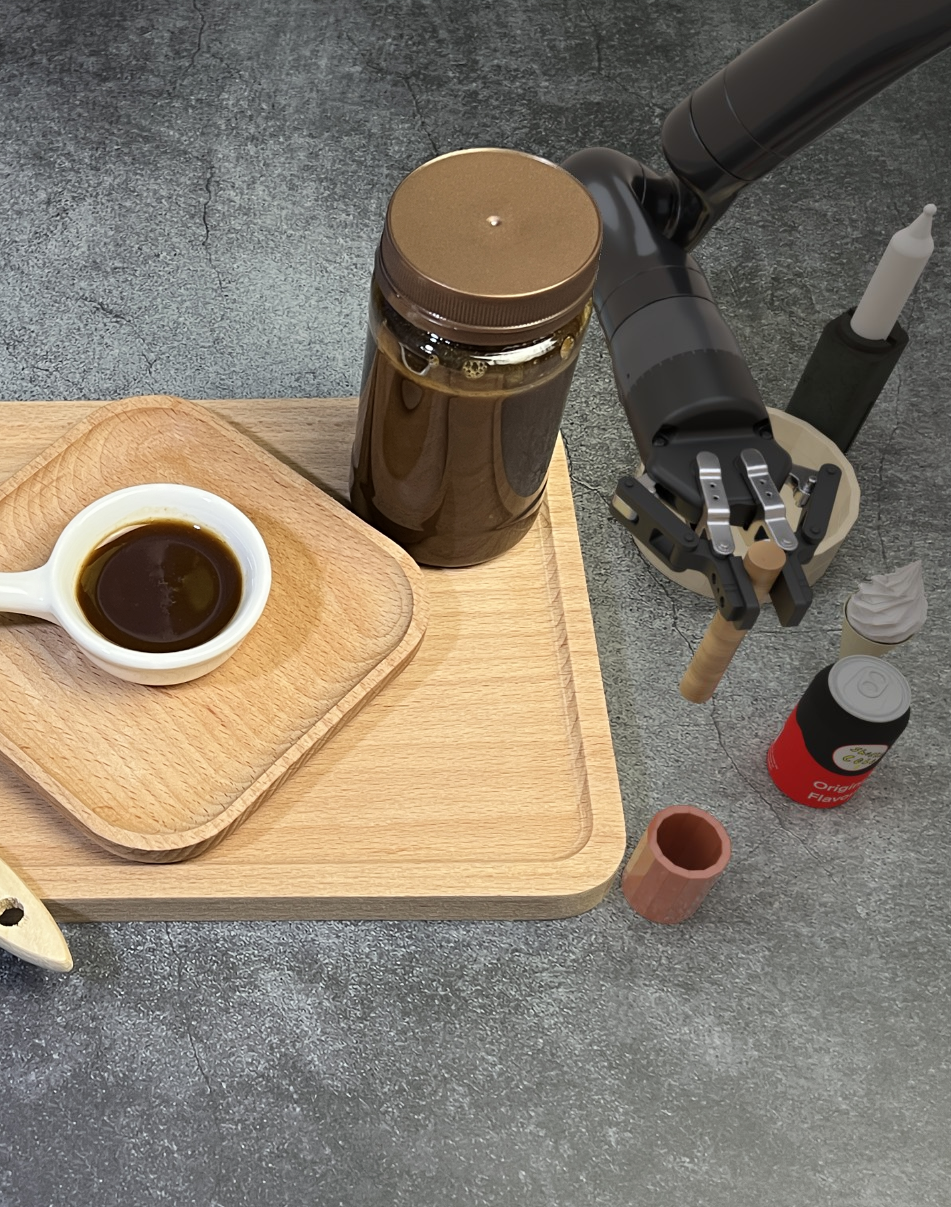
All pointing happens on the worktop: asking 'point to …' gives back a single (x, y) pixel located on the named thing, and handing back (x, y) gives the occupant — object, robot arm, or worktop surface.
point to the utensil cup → (675, 864)
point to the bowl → (789, 501)
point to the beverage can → (840, 730)
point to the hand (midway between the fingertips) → (772, 619)
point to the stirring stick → (729, 626)
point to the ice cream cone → (884, 612)
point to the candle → (863, 342)
